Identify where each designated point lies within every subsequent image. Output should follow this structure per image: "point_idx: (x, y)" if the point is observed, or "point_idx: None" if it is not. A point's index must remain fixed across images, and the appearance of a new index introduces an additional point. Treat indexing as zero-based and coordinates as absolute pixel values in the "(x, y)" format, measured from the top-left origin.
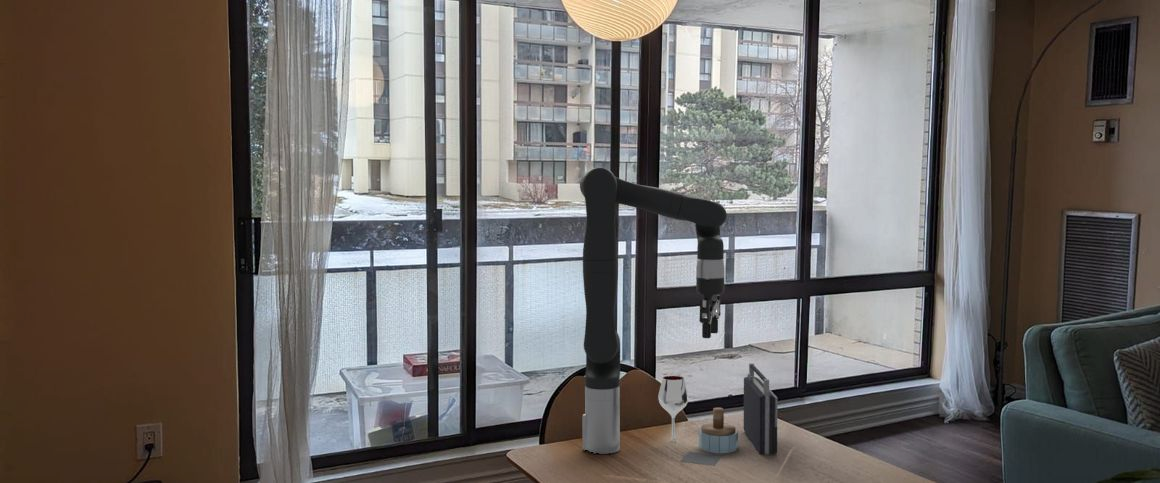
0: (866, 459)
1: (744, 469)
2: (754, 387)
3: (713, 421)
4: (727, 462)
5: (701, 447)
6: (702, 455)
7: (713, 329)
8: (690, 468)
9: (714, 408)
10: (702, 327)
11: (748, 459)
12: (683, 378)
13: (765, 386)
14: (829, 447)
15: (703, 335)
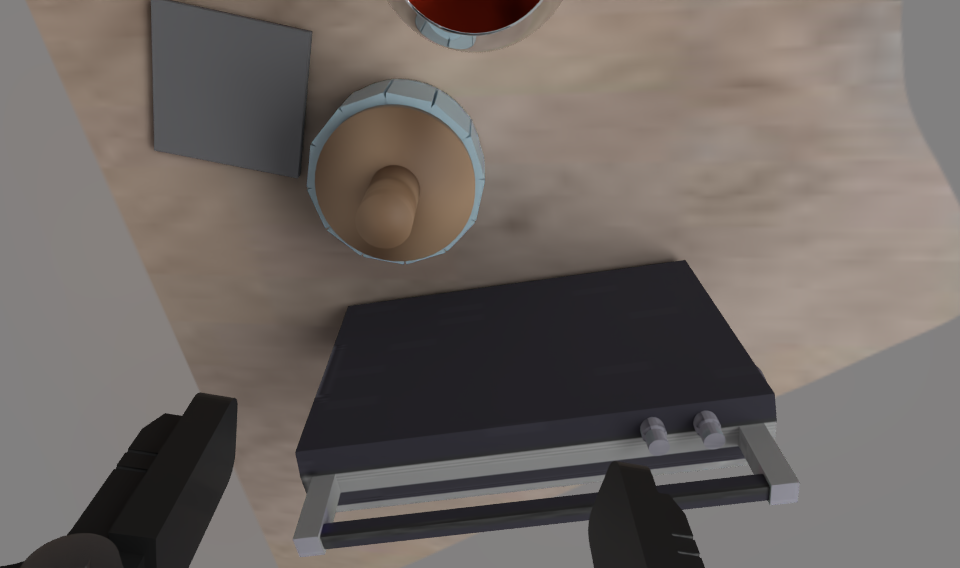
0: (398, 559)
1: (182, 251)
2: (500, 439)
3: (380, 176)
4: (244, 194)
5: (354, 92)
6: (270, 97)
7: (609, 527)
8: (113, 49)
9: (388, 202)
10: (138, 491)
11: (305, 266)
12: (465, 33)
13: (302, 514)
14: (501, 494)
15: (157, 422)
